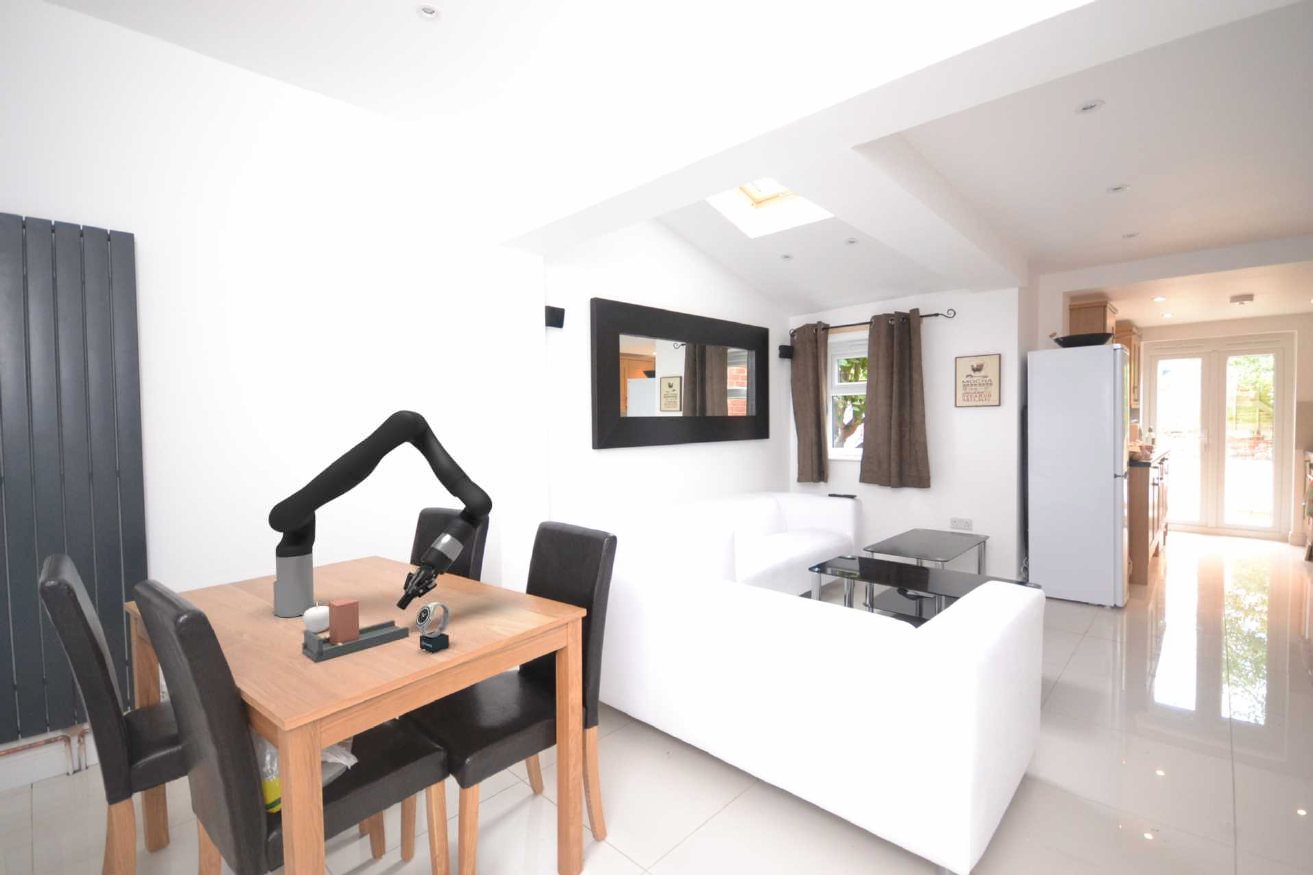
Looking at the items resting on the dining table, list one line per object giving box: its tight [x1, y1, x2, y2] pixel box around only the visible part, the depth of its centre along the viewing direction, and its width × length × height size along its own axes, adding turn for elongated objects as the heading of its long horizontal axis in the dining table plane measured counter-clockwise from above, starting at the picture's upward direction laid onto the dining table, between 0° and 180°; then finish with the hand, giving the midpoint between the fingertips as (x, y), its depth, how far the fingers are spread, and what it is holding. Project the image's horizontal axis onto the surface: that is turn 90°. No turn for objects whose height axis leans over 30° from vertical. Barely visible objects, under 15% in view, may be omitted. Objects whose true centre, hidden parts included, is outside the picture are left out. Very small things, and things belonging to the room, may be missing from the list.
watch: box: [415, 601, 451, 654], centre depth 146 cm, size 6×8×11 cm
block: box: [328, 597, 360, 645], centre depth 147 cm, size 5×5×10 cm
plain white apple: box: [302, 600, 329, 634], centre depth 160 cm, size 7×7×8 cm
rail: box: [301, 619, 410, 663], centre depth 149 cm, size 22×9×5 cm, turn 138°
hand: (400, 607), depth 157 cm, fingers closed
